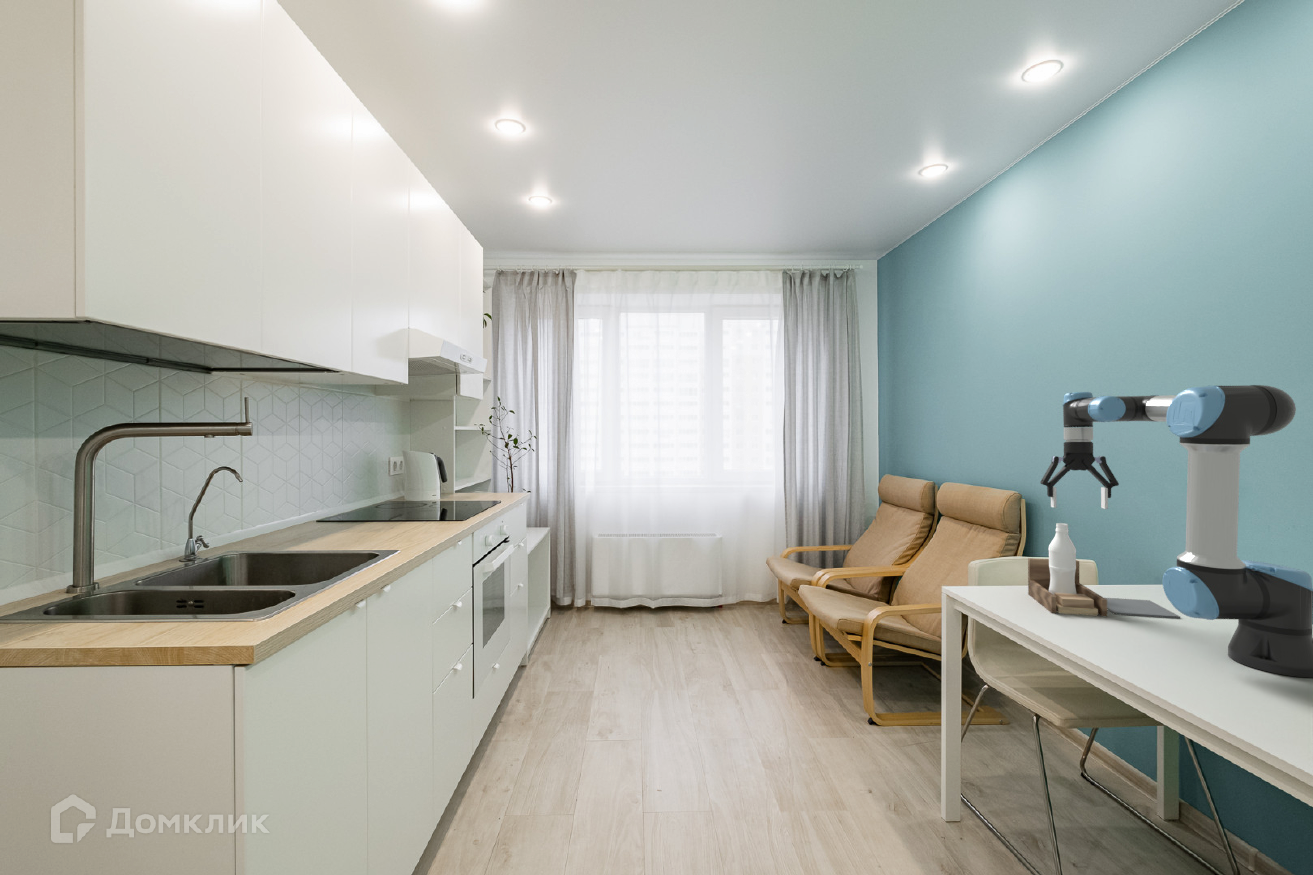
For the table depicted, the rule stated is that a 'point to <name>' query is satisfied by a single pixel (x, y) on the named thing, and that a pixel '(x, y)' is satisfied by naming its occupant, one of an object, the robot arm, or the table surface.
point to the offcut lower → (1076, 610)
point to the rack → (1041, 583)
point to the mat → (1138, 608)
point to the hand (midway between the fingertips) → (1078, 508)
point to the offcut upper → (1074, 600)
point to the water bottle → (1062, 562)
